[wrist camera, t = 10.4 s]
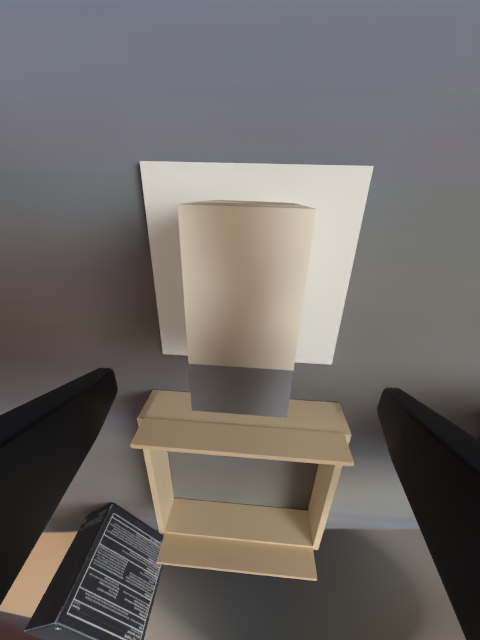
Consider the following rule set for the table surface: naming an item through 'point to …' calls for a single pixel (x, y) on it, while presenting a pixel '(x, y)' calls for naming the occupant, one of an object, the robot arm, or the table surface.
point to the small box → (102, 582)
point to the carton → (237, 519)
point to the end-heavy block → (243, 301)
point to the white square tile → (269, 186)
